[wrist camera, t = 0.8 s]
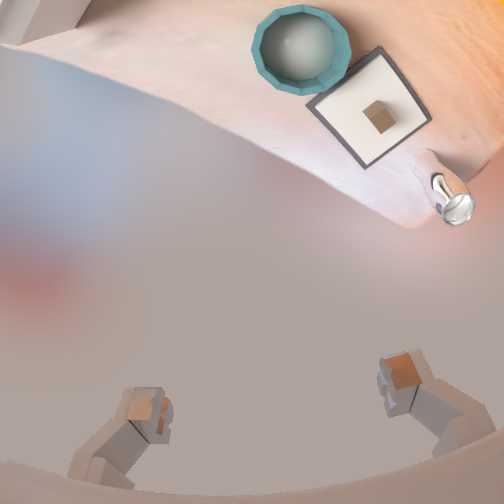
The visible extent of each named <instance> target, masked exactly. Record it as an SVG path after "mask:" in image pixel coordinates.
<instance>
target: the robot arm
mask: <svg viewBox="0 0 504 504" xmlns="http://www.w3.org/2000/svg"><path fill="white" fill-rule="evenodd" d="M379 365H380V368H381V369H380V370H379V371H378V377H377V379H378V387H379V391H380V394H381V395H382V396H384V397H385V402H384V406H385V409H386V411H387V415H388V417H389V418H390V417H394V416H398V415H402V414H406V413H410V414H411V415H412V416H413V417H414V418H415V419H416V420H418V421H419V422H420V423H421V424H422V425H424V426H425V427H426V428H427V429H428V430H430V431H431V432H432V433H434V434H435V435H436V436H437V437H438V438H440V440H439V441H438V443H437V445H436V446H435V448H434V449H433V451H432V455H433V459H430V460H427V461H424V462H421V463H418V464H415V465H413V466H409V467H406V468H403V469H400V470H396V471H392V472H389V473H385V474H382V475H378V476H374V477H370V478H366V479H362V480H357V481H353V482H349V483H343V484H338V485H333V486H327V487H321V488H315V489H308V490H301V491H293V492H285V493H273V494H261V495H239V496H198V495H177V494H164V493H154V492H145V491H136V490H134V486H135V484H134V483H133V482H132V481H131V480H130V479H128V478H127V477H126V476H125V475H126V473H127V472H128V471H129V470H130V468H131V467H132V466H133V465H134V463H135V462H136V461H137V460H138V458H139V457H140V456H141V455H142V453H143V452H144V451H145V450H146V448H147V447H148V446H149V444H169V438H170V432H171V430H170V428H169V426H168V425H169V424H170V423H171V422H172V421H173V406H172V403H171V401H170V400H169V399H168V398H166V397H165V396H164V395H165V392H164V390H163V389H162V387H125V388H124V390H123V392H122V395H121V398H120V401H119V404H118V407H117V410H116V413H115V416H114V419H110V420H109V421H108V422H107V423H106V424H105V425H104V426H103V427H102V428H100V429H99V430H98V431H97V432H96V433H95V434H94V435H93V436H92V437H91V438H90V439H89V440H87V441H86V442H85V443H84V444H83V445H82V446H81V447H80V448H79V449H77V450H76V451H75V453H74V456H73V459H72V462H71V465H70V468H69V472H68V475H67V477H65V476H61V475H58V474H54V473H51V472H47V471H44V470H41V469H37V468H34V467H31V466H28V465H25V464H22V463H20V462H17V461H14V460H11V459H4V460H2V461H0V504H504V427H503V428H501V429H499V430H496V428H495V426H494V424H493V422H492V420H491V418H490V416H489V414H488V412H487V410H486V408H485V406H484V405H483V404H482V403H480V402H478V401H477V400H475V399H473V398H472V397H470V396H468V395H466V394H465V393H463V392H461V391H460V390H458V389H456V388H454V387H453V386H451V385H449V384H448V383H446V382H444V381H443V380H441V379H435V377H434V375H433V373H432V371H431V369H430V367H429V365H428V363H427V361H426V359H425V357H424V355H423V354H422V352H421V350H420V349H419V348H416V349H413V350H409V351H404V352H400V353H396V354H393V355H389V356H385V357H381V359H380V362H379Z"/></svg>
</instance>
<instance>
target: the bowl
mask: <svg viewBox="0 0 504 504" xmlns="http://www.w3.org/2000/svg"><path fill="white" fill-rule="evenodd" d="M251 51H252V54H253V57H254V61H255V64H256V67H257V70H258V73H259V74H260V75H261V76H263V77H264V78H265V79H266V80H267V81H268V82H269V83H270V84H272V85H273V86H274V87H275V88H276V89H277V90H281V91H285V92H289V93H292V94H296V95H299V96H304V95H309V94H314V93H319V92H325V91H327V90H328V89H329V88H330V87H332V86H333V85H334V84H335V83H336V82H338V81H339V80H340V79H341V78H343V77H344V75H345V73H346V70H347V67H348V64H349V62H350V59H351V56H352V55H351V54H352V52H351V48H350V43H349V39H348V34H347V31H346V30H345V29H344V28H343V27H342V26H341V25H340V23H339V22H338V21H337V20H336V19H335V18H334V17H333V16H332V15H331V14H330V13H329V12H326V11H323V10H320V9H316V8H313V7H310V6H307V5H297V6H291V7H286V8H281V9H277V10H274V11H273V12H272V13H270V14H269V15H268V16H267V17H266V18H265V19H264V20H262V21H261V22H260V23H259V24H258V25H257V29H256V33H255V36H254V40H253V44H252V48H251Z"/></svg>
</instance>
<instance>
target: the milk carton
mask: <svg viewBox="0 0 504 504" xmlns="http://www.w3.org/2000/svg"><path fill="white" fill-rule="evenodd" d="M91 1H92V0H1V2H0V43H2V44H10V45H17V46H20V45H22V44H25V43H28V42H31V41H34V40H37V39H40V38H44V37H47V36H50V35H54V34H57V33H61V32H65V31H69V30H73V29H74V28H75V27H76V25H77V23H78V22H79V20H80V18H81V17H82V15H83V13H84V12H85V10H86V9H87V7H88V5H89V4H90V2H91Z"/></svg>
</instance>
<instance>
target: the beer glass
mask: <svg viewBox="0 0 504 504" xmlns="http://www.w3.org/2000/svg"><path fill="white" fill-rule="evenodd" d="M410 170H411V172H412V174H413V175H414V176H416V177H417V178H418V179H419V180H420V181H421V183H422V185H423V188H424V190H425V193H426V196H427V198H428V200H429V202H430V204H431V205H432V207H433V208H434V210H435V211H436V213H437V214H438V215H439V216H440V218H441V219H442V220H443V222H444V223H445V224H446V225H447V226H450V227H457V226H460V225H462V224H464V223H466V222H467V221H468V220H469V219H470V218H471V217H472V215H473V213H474V211H475V207H476V201H475V199H474V197H473V196H472V194H471V193H470V191H469V190H468V188H467V187H466V185H465V184H464V183H463V181H462V180H461V179H460V178H459V177H458V176H457V175H456V174H454V173H453V172H452V171H451V170H449V169H448V168H446V167H445V166H443V165H442V164H441V163H440V162H439V160H438V158H437V156H436V154H435V153H434V152H433V151H431V150H428V149H422V150H419V151H418V152H416V153H415V154H414V155H413V156H412V158H411V160H410Z"/></svg>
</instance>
